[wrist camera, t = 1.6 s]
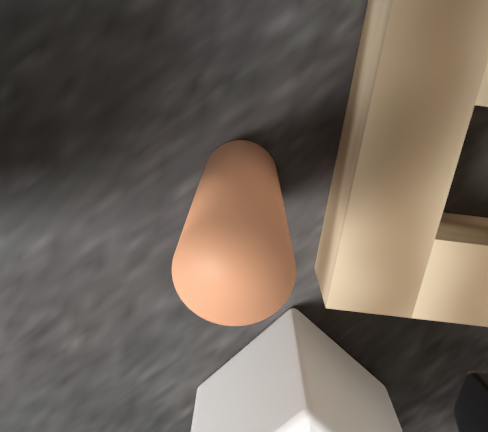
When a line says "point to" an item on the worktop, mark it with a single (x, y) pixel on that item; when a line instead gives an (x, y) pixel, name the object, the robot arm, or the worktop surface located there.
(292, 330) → the medicine bottle
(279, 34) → the worktop surface
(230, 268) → the peg
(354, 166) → the socket block
